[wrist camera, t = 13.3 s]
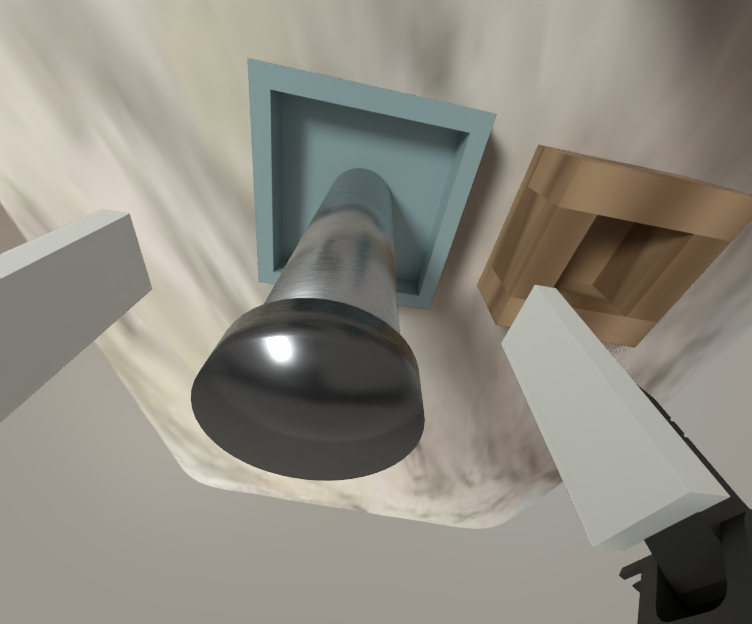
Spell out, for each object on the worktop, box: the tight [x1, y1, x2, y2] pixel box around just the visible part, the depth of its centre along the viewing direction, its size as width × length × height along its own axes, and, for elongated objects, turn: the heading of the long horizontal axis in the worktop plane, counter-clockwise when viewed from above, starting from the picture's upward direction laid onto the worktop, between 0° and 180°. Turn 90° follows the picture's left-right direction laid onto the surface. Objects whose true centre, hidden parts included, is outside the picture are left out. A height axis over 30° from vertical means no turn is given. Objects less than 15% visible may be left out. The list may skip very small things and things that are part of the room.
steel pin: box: [191, 168, 425, 481], centre depth 13 cm, size 5×5×16 cm
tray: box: [248, 58, 497, 310], centre depth 19 cm, size 12×12×3 cm
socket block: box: [477, 145, 752, 347], centre depth 20 cm, size 10×10×5 cm
